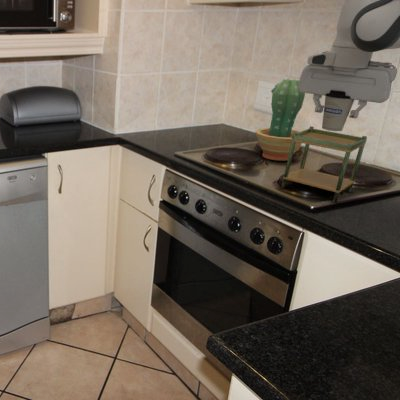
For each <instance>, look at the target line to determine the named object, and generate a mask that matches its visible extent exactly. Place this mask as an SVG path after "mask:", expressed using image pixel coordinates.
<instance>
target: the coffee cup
mask: <svg viewBox="0 0 400 400" xmlns="http://www.w3.org/2000/svg"><path fill="white" fill-rule="evenodd" d="M354 103H355V100H353V99H351V98H350V96H346V93H345V92H343V91H335V90H331V91H330V93H327V94H326V95H325V96H324V104H323V105H324V108H323V116H322V124H321V130H324V131H329V132H342V131H343V130H344V126H345V124H346V121H347V119H348V118H349V115H350V112H351V111H352V110H351V109H352V107H353V104H354Z"/></svg>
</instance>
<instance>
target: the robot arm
mask: <svg viewBox="0 0 400 400" xmlns="http://www.w3.org/2000/svg"><path fill="white" fill-rule="evenodd" d="M339 13H340V14H339V15H338V19H337V22H336V23H337V24H336V34H335V35H336V36H335V39H334V40H333V42H332V45H331V48H330V50H329V51H323V52H320V53H316V54H312V55H309V56H308V58H307V64H308V65H306V66H305V67H304V68H303V69H302V71H301V74H300V76H299V79H298V80H299V83H298V90H299V92H302V93H305V94H309V95H310V94H311V95H312V100H313V103H314V106H315V107H314V113H318V114H321V113H324V105H325V104H322V103H321V99H322V98H323V96H324V97H325V95H326V94H327V93H330V91H331V90H335V91H343V92H345V93H346V96H350V98H351V99H353V100H354V101H358V102H357V106H358V107H357V108H356V109H352V110H350V112H349V115H348V118H350V119H358V118H359V114H360V111H362V110H363V109H364V108H365V107H366V106H367V105H368V102H369V103H377V104H382V103H385V102H386V101H388V100H389V99H390V95H391V91H392V84H393V82H394V81H395V79H396V76H397V73H398V69H397V67H396V66H395V65H394V64H393V63H391V62H380V61H375V60H372V57H373V54H374V53H376V52H380V51H385V50H395V49H400V0H344V1H343V4H342V7H341V10H340V12H339Z"/></svg>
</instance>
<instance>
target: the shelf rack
mask: <svg viewBox="0 0 400 400" xmlns="http://www.w3.org/2000/svg"><path fill="white" fill-rule="evenodd" d="M314 127H315V126H312V125H311V126H309V128H307V129H304V130H301V131H300V132H299V133H293V136H292V140H291V141H292V142H291V147H290V151H289V156H288V160H286V161H287V162H286V165H285V170H284V174H283V176H282V183H281V187H280V188H281V189H286V186H287V183H288V181H291V182H295V183H299V184H302V185H306V186H308V187H309V186H310V187H314V188H318V189H321V190H326V191H328V192H333V193H334V194H333V197H332V203H336V204H337V203H338V200H339V196H340V193H341V192H343V191H344V190H346V192H347V193H352V190H353V188H354V184H355V181H356V176H357V173H358V171H359V166H360V162H361V160H362V155H363V153H364V148H365V146H366V144H367V143H366V142H367V139H368V136H367V135H362V136H356V135H350V134H345V133H340V132H336V131H329V130H325V129H318V128H314ZM296 142H300V143H302V144H304V148H303V153H302V158H301V162H300V166H299V168H298V169H296V170H294V171H292V172H290V170H291V164H292V161H293V156H294V154H293V152H294V148H295V144H296ZM310 146H315V147H320V148H325V149H329V150H335V151H339V152H344V157H343V160H342V164H341V168H340V172H339V176H337V175H335V174H334V175H333V174H329V173H325V172H321V171H317V170H312V169H308V168H305V165H306V161H307V157H308V152H309V149H310ZM357 149H358V151H357V154H356V158H355V161H354V164H353V168H352V172H351V175H350V178H347V177H346V178H345V174H346V171H347V167H348V164H349V160H350V156H351V153H352V152H354V151H355V150H357Z"/></svg>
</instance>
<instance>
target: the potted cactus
mask: <svg viewBox="0 0 400 400" xmlns="http://www.w3.org/2000/svg"><path fill="white" fill-rule="evenodd" d="M298 83H299V79H297V80H296V79H295V78H294V79H289V78H287V79H286V78H285V79H283V80H281V81H280V82H279V83H276V84H275V85H274V87H272V89H271V90H270V92H271V104H270V105H271V112H272V114H271V121H270V126H269V127H268V128H267V127H266V128H259V129H257V130H255V137H256V138H257V141H258V144H259V147H260V149H261V150H262V152H263V153H262V155H261V156H262V157H263V158H265V159H267V160H273V161H285V162H286V161H287V160H288V156H289V151H290V147H291V142H292V141H291V140H292V136H293V133H299V132H301V130H297V129H296V130H295V129H293V128H294V125H295V121H296V119H297V116H298V114H299V112H300V111H301V109H302V108H303V104H304V101H305V96H306V93H302V92H299V90H298ZM302 144H303V143H300V142H296V144H295V148H294V152H293V155H294V154H295V153H296V152H297V151H299V149H300V148H301V145H302Z"/></svg>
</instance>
